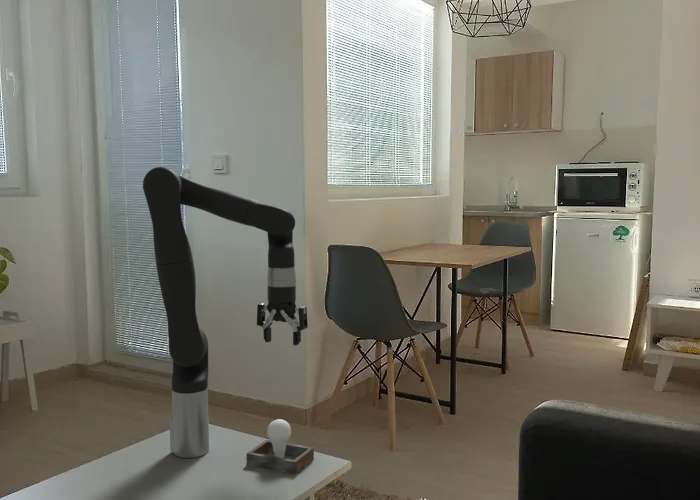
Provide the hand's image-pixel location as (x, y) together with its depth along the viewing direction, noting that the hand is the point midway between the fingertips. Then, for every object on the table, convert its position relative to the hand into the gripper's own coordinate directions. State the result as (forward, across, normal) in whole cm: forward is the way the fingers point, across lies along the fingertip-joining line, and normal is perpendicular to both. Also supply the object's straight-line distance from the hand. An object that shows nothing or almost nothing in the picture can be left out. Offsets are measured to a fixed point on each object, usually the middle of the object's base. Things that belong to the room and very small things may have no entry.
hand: (282, 343), depth 183 cm
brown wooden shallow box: (+28, +5, -10) cm, 30 cm away
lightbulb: (+28, +5, -10) cm, 30 cm away
